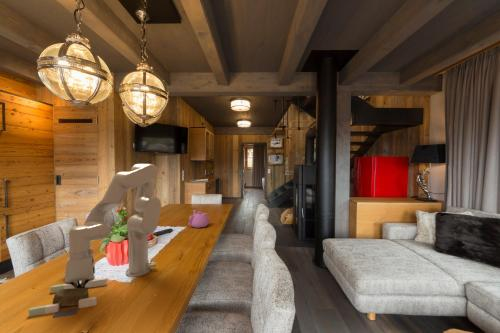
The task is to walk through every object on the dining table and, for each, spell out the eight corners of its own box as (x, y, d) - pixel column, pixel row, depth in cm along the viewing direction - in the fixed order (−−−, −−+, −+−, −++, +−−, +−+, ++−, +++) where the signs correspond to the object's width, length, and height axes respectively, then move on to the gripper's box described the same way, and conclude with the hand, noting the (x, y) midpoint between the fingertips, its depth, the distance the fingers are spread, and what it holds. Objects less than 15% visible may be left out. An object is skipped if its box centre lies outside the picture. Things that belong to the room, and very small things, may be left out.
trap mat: (80, 308, 91) (80, 307, 91) (76, 314, 88) (76, 313, 88) (56, 312, 89) (56, 312, 89) (51, 319, 85) (50, 318, 85)
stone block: (58, 300, 95) (59, 288, 95) (89, 297, 98) (90, 286, 99) (50, 308, 90) (52, 296, 90) (84, 305, 93) (85, 293, 93)
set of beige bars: (107, 283, 110) (107, 277, 110) (95, 305, 93) (95, 298, 93) (52, 292, 103) (52, 285, 103) (28, 317, 86) (28, 310, 86)
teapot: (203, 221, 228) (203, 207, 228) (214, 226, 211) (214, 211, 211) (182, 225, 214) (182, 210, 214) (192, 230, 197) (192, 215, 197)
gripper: (102, 248, 105) (102, 287, 105) (63, 253, 99) (63, 293, 100) (97, 255, 98) (97, 296, 98) (55, 260, 92) (55, 303, 93)
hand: (80, 294), depth 99 cm, fingers closed
